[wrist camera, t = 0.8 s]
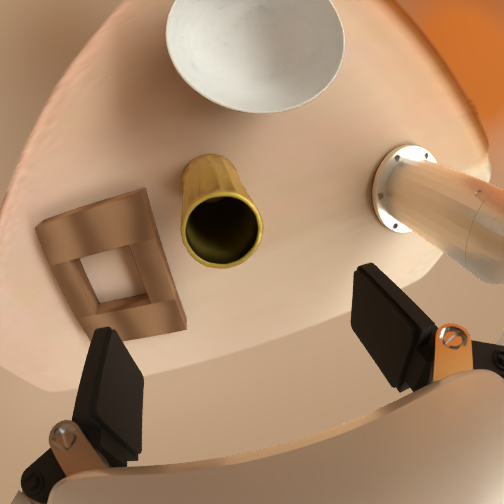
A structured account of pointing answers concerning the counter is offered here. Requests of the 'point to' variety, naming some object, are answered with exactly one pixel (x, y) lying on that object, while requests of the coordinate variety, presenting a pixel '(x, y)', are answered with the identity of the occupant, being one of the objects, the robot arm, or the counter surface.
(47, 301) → the counter surface
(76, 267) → the vase stand
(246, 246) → the vase
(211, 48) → the chinaware
